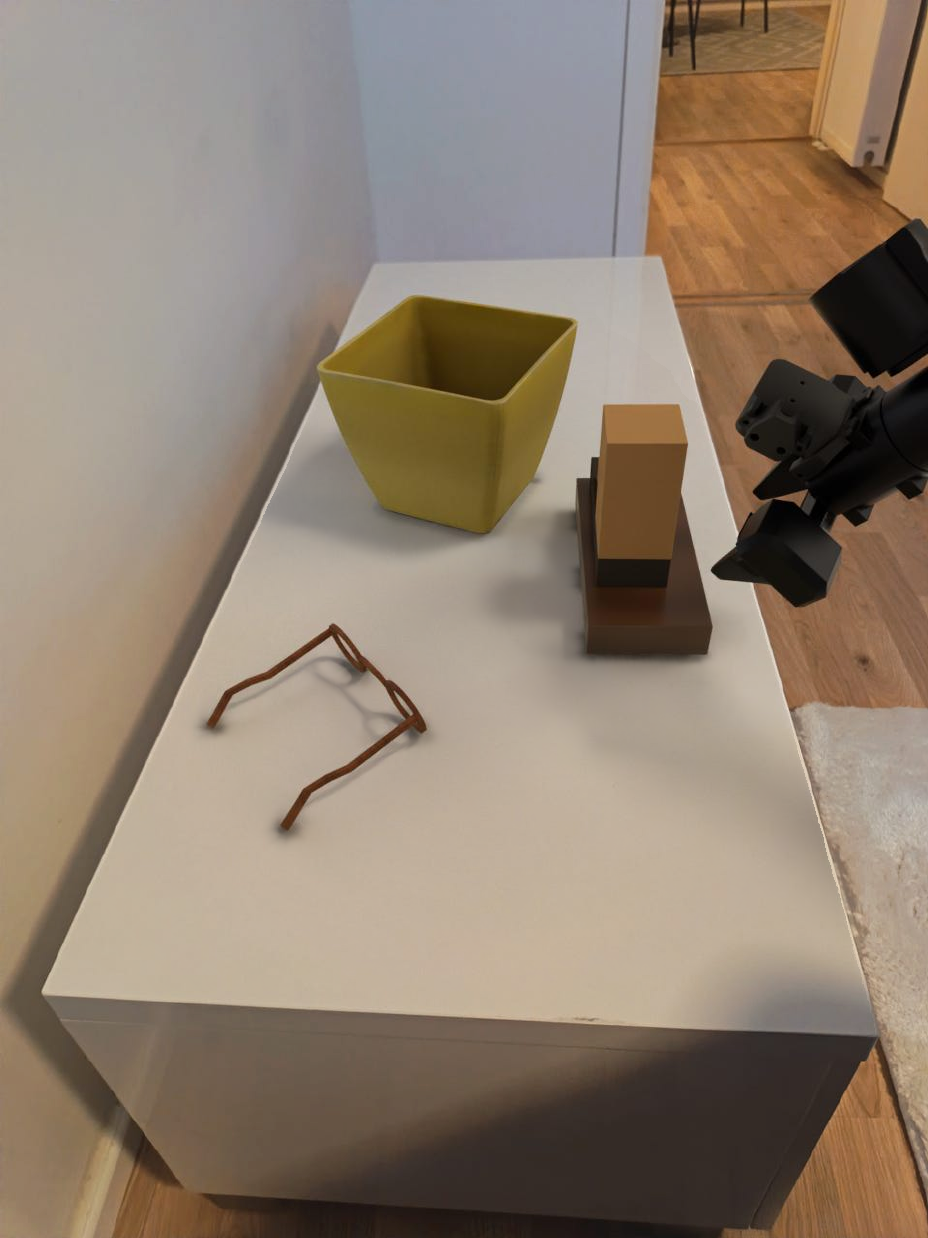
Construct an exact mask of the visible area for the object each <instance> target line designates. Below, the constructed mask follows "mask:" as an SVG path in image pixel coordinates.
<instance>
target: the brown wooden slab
mask: <svg viewBox="0 0 928 1238" xmlns="http://www.w3.org/2000/svg"><path fill="white" fill-rule="evenodd" d="M575 481H576V483H575V501H574V505H575V506H574V507H575V517H576V519H575V521H576V534H577V546H578V560H579V572H580V573H579V575H580V588H581V601H582V611H583V612H582V615H583V626H584V640H585V642H584V643H585V654H587V655H672V656H673V655H678V656H679V655H687V656H689V655H691V656H693V655H695V656H696V655H697V656H702V655H703V656H707V655H708V654H709V649H710V644H711V643H710V642H711V639H712V633H713V629H714V625H713V622H712V618H711V614H710V609H709V605H708V600H707V596H706V591H705V588H704V583H703V578H702V573H701V570H700V567H699V561H698V558H697V553H696V550H695V545H694V541H693V537H692V533H691V532H692V531H691V529H690V525H689V524H690V523H689V519H688V516H687V512H686V511H687V510H686V507H685V502H684V498H683V495H682V493H681V496H680V502H679V509H678V516H677V523H676V530H675V536H674V543H673V550H672V557H671V563H670V570H669V577H668V584H667V587H617V586H596V578H595V561H594V545H593V528H592V512H591V495H590V477H577V478H576V480H575Z"/></svg>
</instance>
